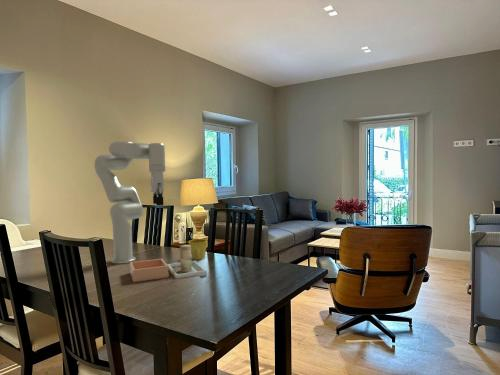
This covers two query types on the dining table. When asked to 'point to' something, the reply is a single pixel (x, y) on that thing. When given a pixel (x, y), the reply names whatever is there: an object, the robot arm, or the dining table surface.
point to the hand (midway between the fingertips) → (158, 204)
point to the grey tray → (195, 267)
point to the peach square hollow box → (148, 270)
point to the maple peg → (185, 258)
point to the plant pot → (198, 248)
